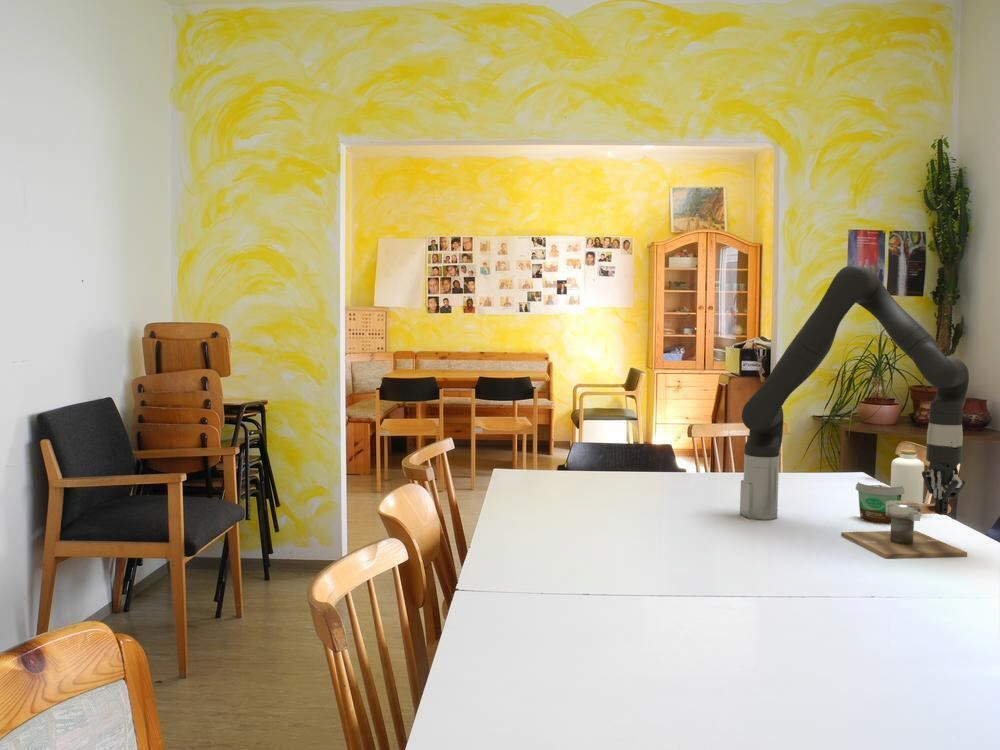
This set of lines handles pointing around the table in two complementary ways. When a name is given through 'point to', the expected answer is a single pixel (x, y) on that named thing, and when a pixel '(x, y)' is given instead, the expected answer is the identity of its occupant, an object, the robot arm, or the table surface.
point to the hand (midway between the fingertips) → (941, 514)
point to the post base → (903, 549)
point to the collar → (909, 510)
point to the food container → (877, 501)
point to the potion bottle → (908, 476)
